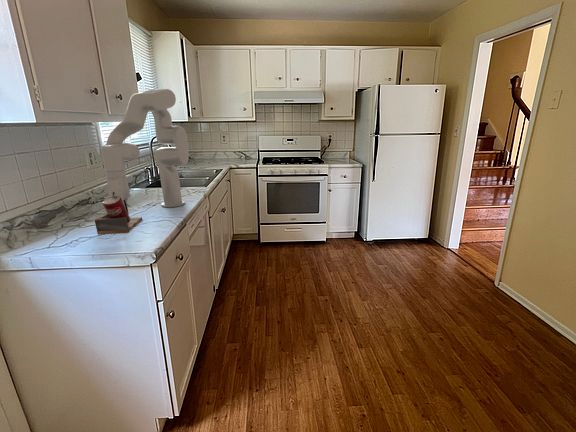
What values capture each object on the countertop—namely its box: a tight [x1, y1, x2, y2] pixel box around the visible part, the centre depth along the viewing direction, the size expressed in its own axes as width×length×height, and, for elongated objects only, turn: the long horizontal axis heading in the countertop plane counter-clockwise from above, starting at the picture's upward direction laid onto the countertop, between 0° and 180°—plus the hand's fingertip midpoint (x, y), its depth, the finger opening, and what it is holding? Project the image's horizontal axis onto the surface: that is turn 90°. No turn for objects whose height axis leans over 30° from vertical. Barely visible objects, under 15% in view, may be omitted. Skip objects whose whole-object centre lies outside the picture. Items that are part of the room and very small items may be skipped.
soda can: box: [102, 196, 131, 223], centre depth 130 cm, size 7×7×12 cm
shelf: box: [94, 212, 143, 236], centre depth 136 cm, size 18×12×6 cm, turn 6°
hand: (124, 215), depth 137 cm, fingers closed
